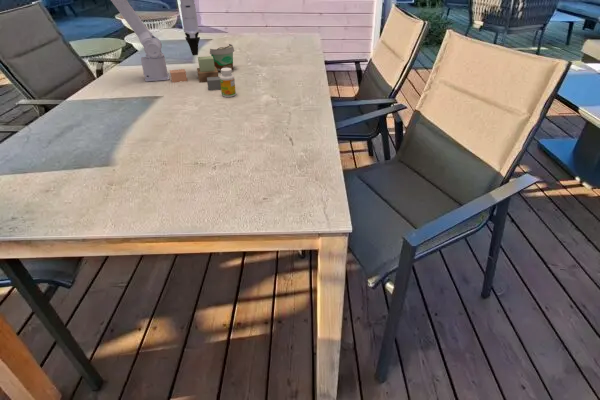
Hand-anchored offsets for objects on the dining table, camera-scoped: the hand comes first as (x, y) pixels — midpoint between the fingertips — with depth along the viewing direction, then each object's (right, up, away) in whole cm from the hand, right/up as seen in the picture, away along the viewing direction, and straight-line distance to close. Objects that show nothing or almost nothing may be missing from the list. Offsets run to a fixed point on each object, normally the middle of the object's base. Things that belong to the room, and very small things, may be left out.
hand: (194, 52), depth 159 cm
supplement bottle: (+17, -22, -14) cm, 31 cm away
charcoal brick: (+11, -17, -8) cm, 22 cm away
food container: (+11, -4, +12) cm, 17 cm away
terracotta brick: (-6, -12, 0) cm, 13 cm away
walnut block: (+5, -11, +2) cm, 12 cm away
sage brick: (+6, -8, -1) cm, 9 cm away
